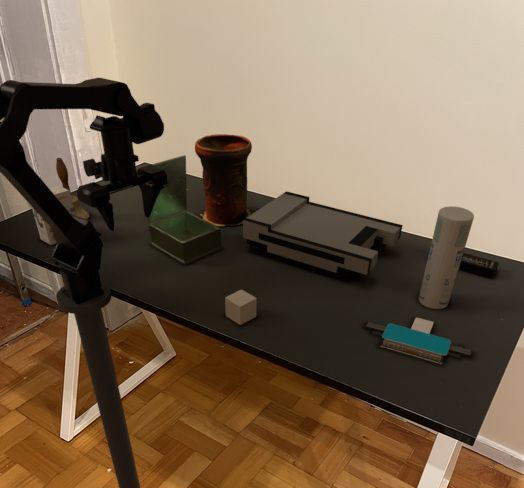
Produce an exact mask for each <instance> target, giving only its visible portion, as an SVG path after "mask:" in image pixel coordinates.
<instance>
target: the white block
mask: <svg viewBox="0 0 524 488" xmlns="http://www.w3.org/2000/svg"><path fill="white" fill-rule="evenodd" d="M224 306H225V307H224V309H225V317H227V318H228V319H229V320H231V321H233V323H236V324H238V325H239V326H242V325H244V324H245V323H248V322H250V321H251V320H253V319H254V318H256V317H257V306H258V305H257V297H256V296H254V295H252V294H251V293H248V292H247V291H245V290H243V289H239V290H237V291H235V292H234V293H231V294H229V295H227V296H225V297H224Z"/></svg>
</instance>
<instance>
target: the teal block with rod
mask: <svg viewBox="0 0 524 488" xmlns="http://www.w3.org/2000/svg"><path fill="white" fill-rule="evenodd" d="M434 323H435V321H432V320H427V319H424V318H420V317H415V318H414V321H413V323H412V326H411V328H409V327H405V326H402V325H398V324H395V323H390V322H389V323H387V326H385V325H381V324H377V323H374V322H370V321H368V322H367V324H366V325H365V326H366V327H365V329H366V330H371V331H372V333H371V334H372V335H375V336H379V337H381V338H382V339H383V340H382V342H381V344H380V348H382V349H385V350H388V351H391V352H394V353H398V354H401V355H406V356H409V357H411V358H415V359H418V360H423V361H426V362H430V363H432V364H436V365H438V366H439V365H440V366H442V365H443V363H444V359H445V356H449V357H452V358H456V359H460V358H461V356H462V357H466V358H470V357H471V354H472V350H471V349H467V348H465V347H462V346H457V345H453V344H452V340H451V339H449V338H445V337H442V336H438V335H435V334H431V331H432V330H433V329H432V328H433V327H434Z"/></svg>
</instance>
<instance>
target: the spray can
mask: <svg viewBox="0 0 524 488" xmlns="http://www.w3.org/2000/svg"><path fill="white" fill-rule="evenodd" d="M474 219H475V214H474V213H473V211H471V210H469V209H468V208H465V207H462V206H461V207H460V206H444V207H441V208H440V209H438V213H437V217H436V222H435V227H434V230H433V235H432V238H431V239H432V240H431V244H430V248H429V251H428V257H427V260H426V265H425V269H424V274H423V278H422V282H421V286H420V291H419V295H418V302H419V303H420V304H421V305H422V306H424V307H425V308H429V309H432V310H441V309H445V308H446V307H448V305H449V303H450V300H451V297H452V294H453V293H452V292H453V290H454V286H455V283H456V281H457V280H456V279H457V275H458V272H459V266H460V263H461V259H462V256H463V253H465V250H466V249H465V248H466V245H467V242H468V239H469V236H470V235H469V234H470V232H471V228H472V225H473V221H474Z"/></svg>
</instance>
